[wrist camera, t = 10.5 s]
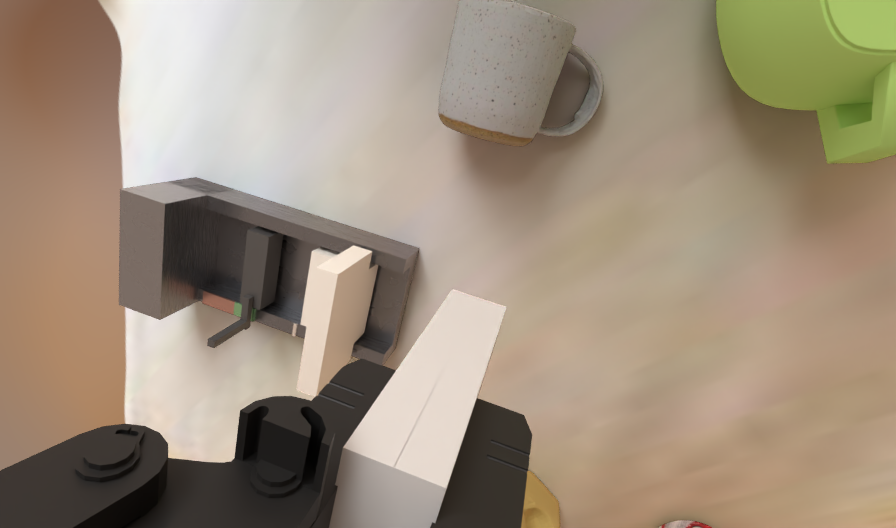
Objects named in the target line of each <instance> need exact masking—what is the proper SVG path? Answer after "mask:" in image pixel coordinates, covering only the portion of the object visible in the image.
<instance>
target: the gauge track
mask: <svg viewBox="0 0 896 528" xmlns="http://www.w3.org/2000/svg"><path fill="white" fill-rule="evenodd" d="M257 226H260V227H263V228H266V229H269V230H273V231H276V232H279V233H282V234H283V241H282V249H281V256H280V264H279V271H278V279H277V286H276V293H275V301H274V302H272V303H271V304H269V305H267V306H266V307H264V308H262V309H261V310H258V309H256V308H253V307H252V313H251V321H257V322H260V323H262V324H265V325H268V326H271V327H274V328H276V329H279V330H282V331H285V332H287V333H290V334H292V336H294V337H295V336H298V337H301V338H304V339H305V333H306V326H303V325H300V324H301V317H302V311H303V304H304V298H305V292H306V285H307V279H308V273H309V266H310V260H311V253H312V251H313V250H315V249H317V248H319V247H324V248H327V249H330V250H333V251H337V252H340V253H341V252H343V251H345V250H347V249H348V248H350V247H352V246H357V247H360V248H363V249H367V250H370V251H372V256H371V261H370V263H373V264H376V265H378V269H377V274H376V279H375V284H374V288H373V293H372V298H371V303H370V307H369V312H368V317H367V322H366V327H365V331H364V333H363V334H362V336H361V337H360V338H359V339H358V340H357V341H356V342H355V343H354V345H353V350H352V355H351V356H354V357H356V358H359V359H362V358H363V359H365V360H368V361H371V362H374V363H376V364H379V365H383V364H384V363H385V362H386V360H387V359H388V358H389V356H390V355H391V354H392V352H393V351H394V350H395V348H396V344H397V340H398V336H399V331H400V327H401V323H402V319H403V315H404V310H405V306H406V302H407V298H408V294H409V289H410V285H411V281H412V277H413V273H414V268H415V264H416V260H417V256H418V252H419V248H417V247H413V246H410V245H407V244H404V243H401V242H398V241H395V240H391V239H388V238H385V237H382V236H379V235H376V234H373V233H369V232H366V231H363V230H360V229H357V228H354V227H351V226H347V225H344V224H341V223H338V222H335V221H332V220H329V219H325V218H322V217H319V216H316V215H313V214H310V213H307V212H303V211H300V210H297V209H294V208H291V207H288V206H285V205H281V204H278V203H275V202H272V201H269V200H266V199H263V198H259V197H256V196H253V195H250V194H247V193H244V192H241V191H237V190H234V189H231V188H228V187H225V186H222V185H219V184H215V183H212V182H209V181H206V180H203V179H200V178H197V177H195V178H189V179H182V180H176V181H169V182H163V183H156V184H150V185H143V186H137V187H130V188H124V189H120V256H119V258H120V261H119V305H122V306H124V307H127V308H130V309H132V310H135V311H138V312H140V313H143V314H146V315H148V316H151V317H154V318H156V319H159V320H161V319H163V318H165V317H167V316H169V315H171V314H173V313H175V312H177V311H179V310H181V309H183V308H185V307H187V306H189V305H191V304H193V303H195V302H197V301H202V303H203V304H206V305H208V306H211V307H214V308H217V309H219V310H222V311H225V312H228V313H230V314H233V315H236V316H239V317H241V310H242V303H240V295H241V286H242V276H243V267H244V258H245V248H246V239H247V230H249V229H252V228H255V227H257Z"/></svg>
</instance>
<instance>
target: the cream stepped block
mask: <svg viewBox="0 0 896 528" xmlns="http://www.w3.org/2000/svg"><path fill="white" fill-rule="evenodd" d="M371 256H372V251H370V250H367V249H363V248H360V247H357V246H352V247H350V248H348V249H347V250H345V251H343V252H341V253H340V252H337V251H333V250H330V249H327V248H324V247H319V248H317V249H315V250H313V251H312V253H311V260H310V266H309V273H308V279H307V285H306V292H305V298H304V304H303V311H302V317H301V324H300V325H303V326H306V333H305V340H304V346H303V352H302V358H301V364H300V370H299V376H298V383H297V389H296V390H297V391H299V392H302V393H305V394H307V395H310V396H313V397H315V396H318V394H319V392H320V391H321V390H322V389H323V388H324V387H325V386H326V384H329V382H330V380H331V379H332V378H333V377H334V376H335V375H336V374H337V372H338V371H339V370H340V369H341V368H342V367H344V366H345V365H346V364H347V363H348V362H349V361H350V360H351V355H352V350H353V345H354V343H355V342H356V341H357V340H358V339H359V338H360V337H361V336H362V334H363V333H364V331H365V327H366V322H367V317H368V312H369V307H370V303H371V298H372V293H373V288H374V284H375V279H376V274H377V269H378V265H376V264H373V263H370V261H371Z"/></svg>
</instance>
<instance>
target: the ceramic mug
mask: <svg viewBox="0 0 896 528" xmlns="http://www.w3.org/2000/svg"><path fill="white" fill-rule="evenodd" d="M575 32H576V28H575V26H574V25H573V24H572V23H570V22H568V21H566V20H565V19H563V18H560V17H558V16H555V15H553V14H551V13H547V12H544V11H542V10H539V9H536V8H533V7H530V6H527V5H523V4H519V3H515V2H512V1H507V0H459V3H458V8H457V13H456V19H455V23H454V28H453V32H452V37H451V42H450V46H449V51H448V57H447V63H446V67H445V72H444V76H443V80H442V85H441V90H440V96H439V109H438V110H439V117H440V119H441V121H442V122H443V124H444V125H446V126H447V127H449V128H451V129H454V130H456V131H459V132H461V133H464V134H468V135H471V136H473V137H476V138H480V139H484V140H488V141H492V142H496V143H501V144H506V145H511V146H525V145H527V144H528V143H530V142H531V141H532V140H533V138H534V136H535V135H536V133H539V134H543V135H547V136H557V137H559V136H566V135H570V134H573V133H575V132H576V131H578V130H580V129H581V128H582V127H584V126H585V125H586V124H587V123H588V122H589V121H590V120H591V118H592V117H593V115H594V114H595V112H596V110H597V108H598V106H599V103H600V101H601V98H602V94H603V79H602V75H601V73H600V70H599V68H598V66H597V64H596V62H595V61H594V60H593V59H592V58H591V57H590V56H589V55H588V54H587V53H586V52H585V51H583V50H582V49H580V48H579V47H577V46H575V45H573V44H572V40H573V38H574V35H575ZM568 52H569V53H571V54H572V55H574V56H575V57H577V58H578V59H579V60H580V61H581V62H582V63H583V64H584V65H585V67H586V69H587V70H588V72H589V75H590V83H589V84H590V87H589V90H588V92H587V94H586V97H585V99H584V101H583V104H582V105H581V107H580V109H579V111H577V112H576V113H575V116H574V120H573V121H572V122H571V123H570V124H567V125H565V126H563V127H561V128H543V127H540V126H541V124H542V121H543V119H544V117H545V114H546V111H547V108H548V105H549V101H550V98H551V96H552V93H553V90H554V87H555V85H556V82H557V80H558V78H559V75H560V73H561V70H562V67H563V64H564V62H565V59H566V56H567V54H568Z"/></svg>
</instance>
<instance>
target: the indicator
mask: <svg viewBox="0 0 896 528" xmlns="http://www.w3.org/2000/svg"><path fill="white" fill-rule="evenodd" d="M282 241H283V234H282V233H279V232H276V231H273V230H269V229H266V228H263V227H260V226H257V227H255V228H252V229H249V230H247V239H246V248H245V258H244V267H243V276H242V286H241V295H240V303H242V310H241V319H240V320H239V321H237V322H235V323H234V324H232V325H230V326H229V327H227V328H226V329H224V330H222V331H221V332H219V333H217V334H216V335H214V336H212V337H211V338H209V339H208V345H207V346H210V347H212V348H215V347H217V346H218V345H220V344H221V343H223V342H224V341H226V340H227V339H229V338H231V337H232V336H234V335H235V334H237V333H238V332H240V331H241V330H243V329H245V330H246V329H247V328H249V327H250V322H251V313H252V307H253V308H256V309H258V310H261V309H262V308H264V307H266V306H267V305H269V304H271V303H272V302H274V301H275V293H276V286H277V279H278V271H279V264H280V256H281V249H282Z"/></svg>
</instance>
